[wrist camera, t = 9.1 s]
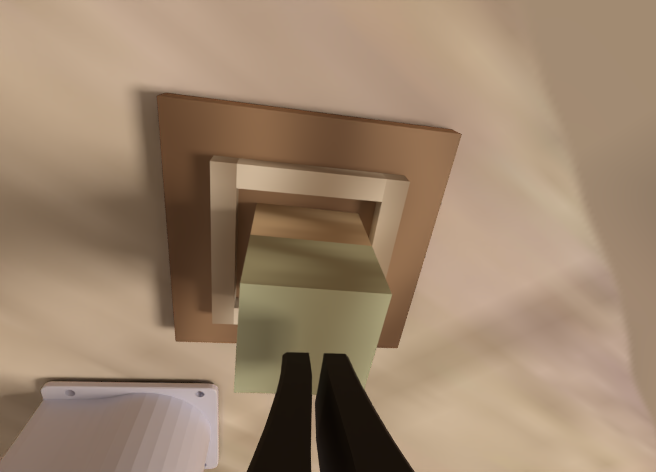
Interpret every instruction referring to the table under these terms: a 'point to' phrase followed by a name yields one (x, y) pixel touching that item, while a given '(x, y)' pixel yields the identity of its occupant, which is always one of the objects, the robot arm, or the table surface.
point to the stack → (307, 294)
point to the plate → (290, 196)
